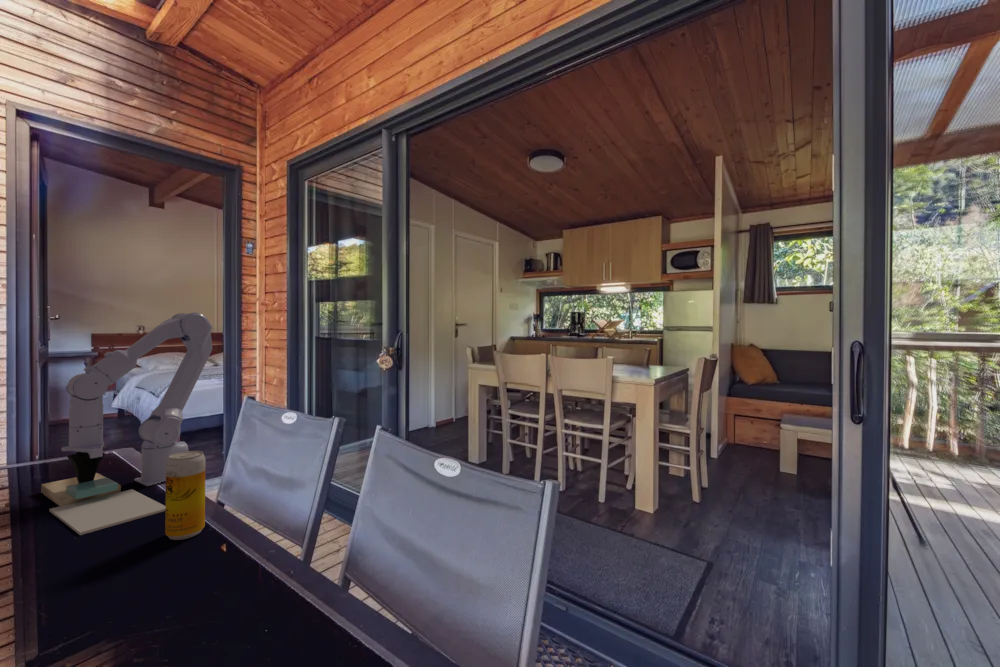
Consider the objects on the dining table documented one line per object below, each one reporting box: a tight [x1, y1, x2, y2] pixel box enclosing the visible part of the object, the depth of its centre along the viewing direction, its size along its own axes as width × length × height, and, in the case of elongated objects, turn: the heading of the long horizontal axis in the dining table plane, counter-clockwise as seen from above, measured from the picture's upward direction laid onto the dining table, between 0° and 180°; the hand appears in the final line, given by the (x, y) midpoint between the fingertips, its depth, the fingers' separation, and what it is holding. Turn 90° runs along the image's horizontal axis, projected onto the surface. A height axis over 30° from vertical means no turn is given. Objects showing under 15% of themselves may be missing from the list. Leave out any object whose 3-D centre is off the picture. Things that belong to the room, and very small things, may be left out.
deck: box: [40, 472, 122, 507], centre depth 102 cm, size 10×16×2 cm, turn 58°
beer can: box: [164, 450, 206, 541], centre depth 82 cm, size 6×6×15 cm
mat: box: [48, 488, 166, 536], centre depth 92 cm, size 14×20×1 cm
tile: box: [66, 477, 119, 499], centre depth 98 cm, size 7×7×2 cm
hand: (85, 484), depth 100 cm, fingers closed
